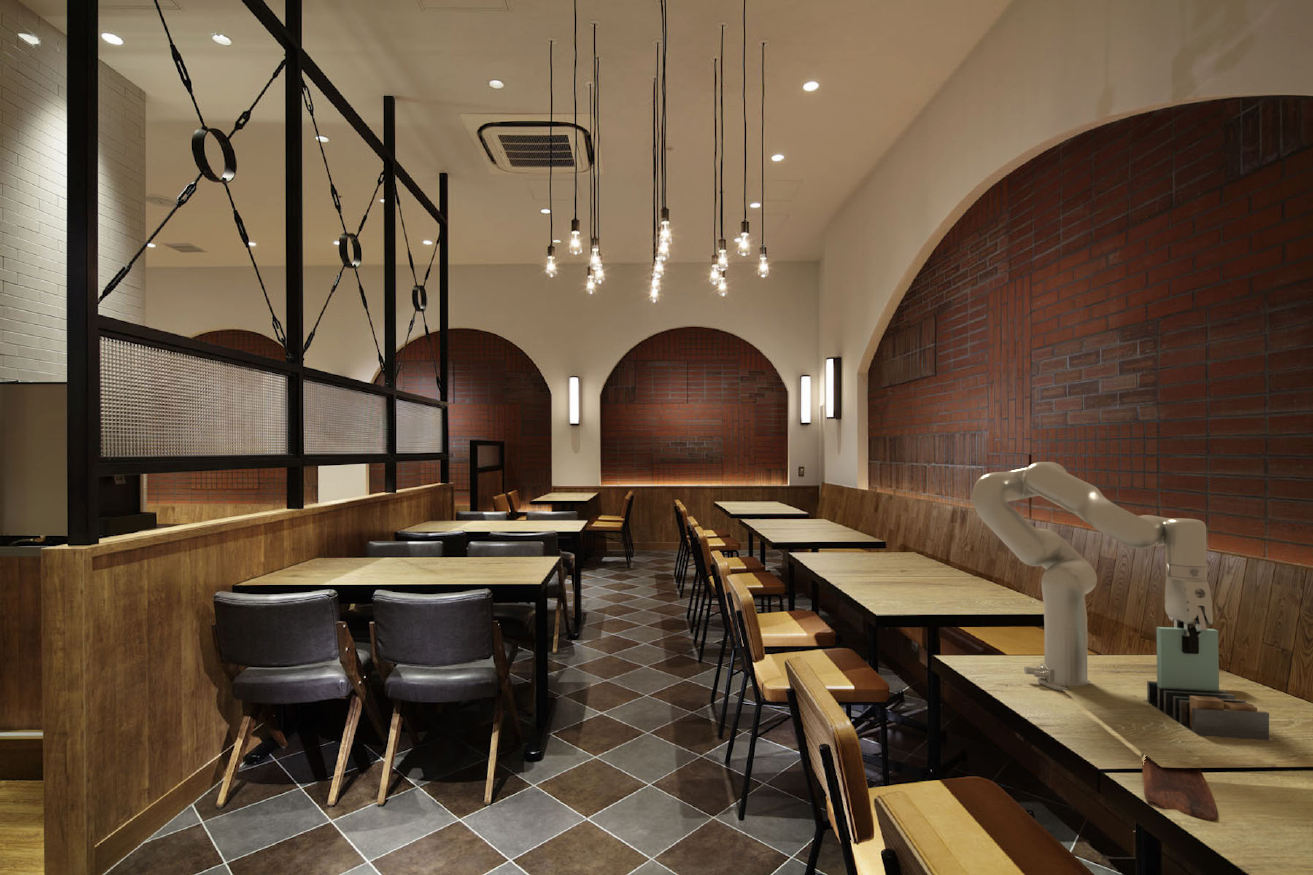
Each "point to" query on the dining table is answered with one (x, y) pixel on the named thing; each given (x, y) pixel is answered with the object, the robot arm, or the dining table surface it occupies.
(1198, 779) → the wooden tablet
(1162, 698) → the rack
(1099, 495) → the robot arm
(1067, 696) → the dining table surface
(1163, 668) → the teal sheet
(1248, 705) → the short walnut offcut
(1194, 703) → the tall walnut offcut
